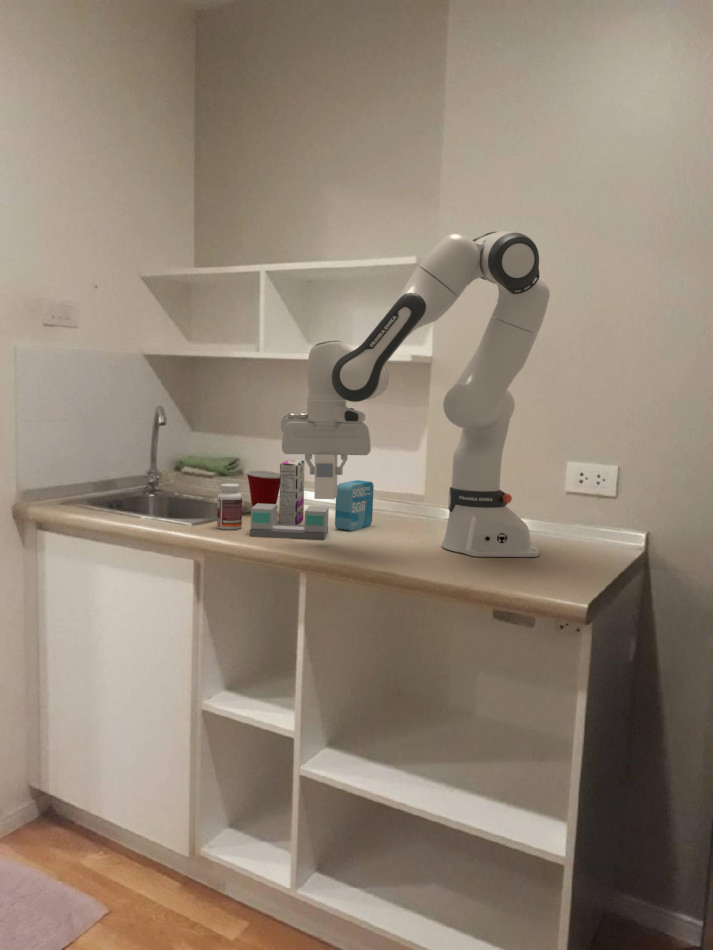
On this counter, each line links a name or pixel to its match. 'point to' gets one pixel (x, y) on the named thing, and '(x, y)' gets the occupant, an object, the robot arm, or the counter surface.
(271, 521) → the teal-tagged twin block base
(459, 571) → the counter surface
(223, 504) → the pill bottle
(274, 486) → the plastic cup
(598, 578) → the counter surface
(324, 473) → the module block
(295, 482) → the candy bar box
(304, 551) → the counter surface
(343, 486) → the data package
